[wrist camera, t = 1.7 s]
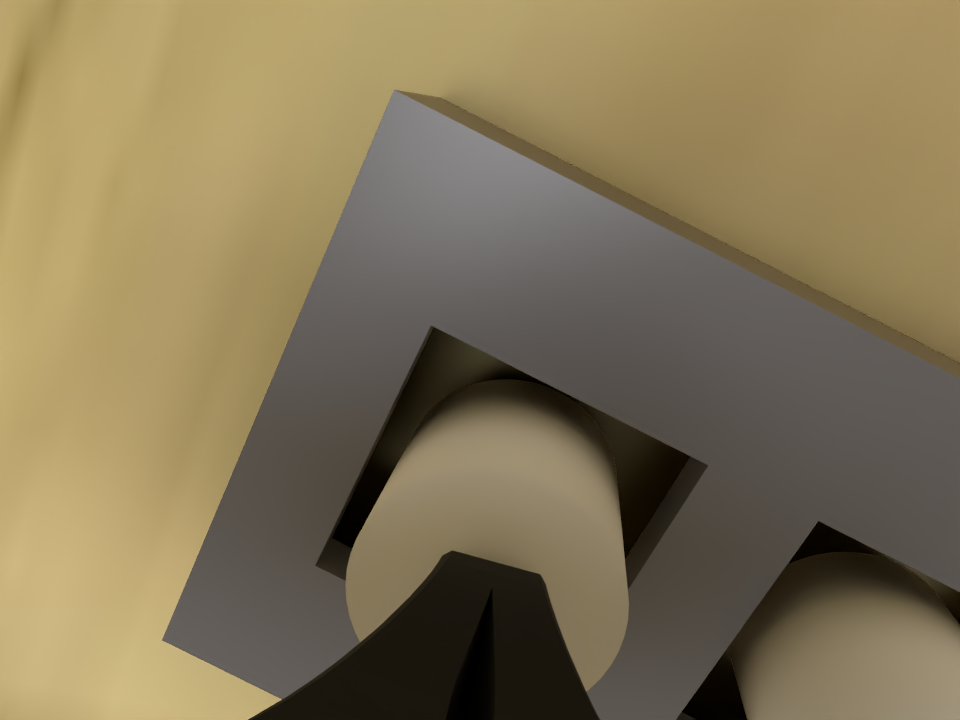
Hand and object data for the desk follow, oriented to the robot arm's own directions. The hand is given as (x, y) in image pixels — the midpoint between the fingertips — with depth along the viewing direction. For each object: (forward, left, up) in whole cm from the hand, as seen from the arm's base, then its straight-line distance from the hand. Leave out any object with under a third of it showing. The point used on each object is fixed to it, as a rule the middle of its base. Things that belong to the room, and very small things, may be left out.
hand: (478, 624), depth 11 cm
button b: (-6, +3, -5) cm, 8 cm away
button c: (0, 0, -4) cm, 4 cm away
